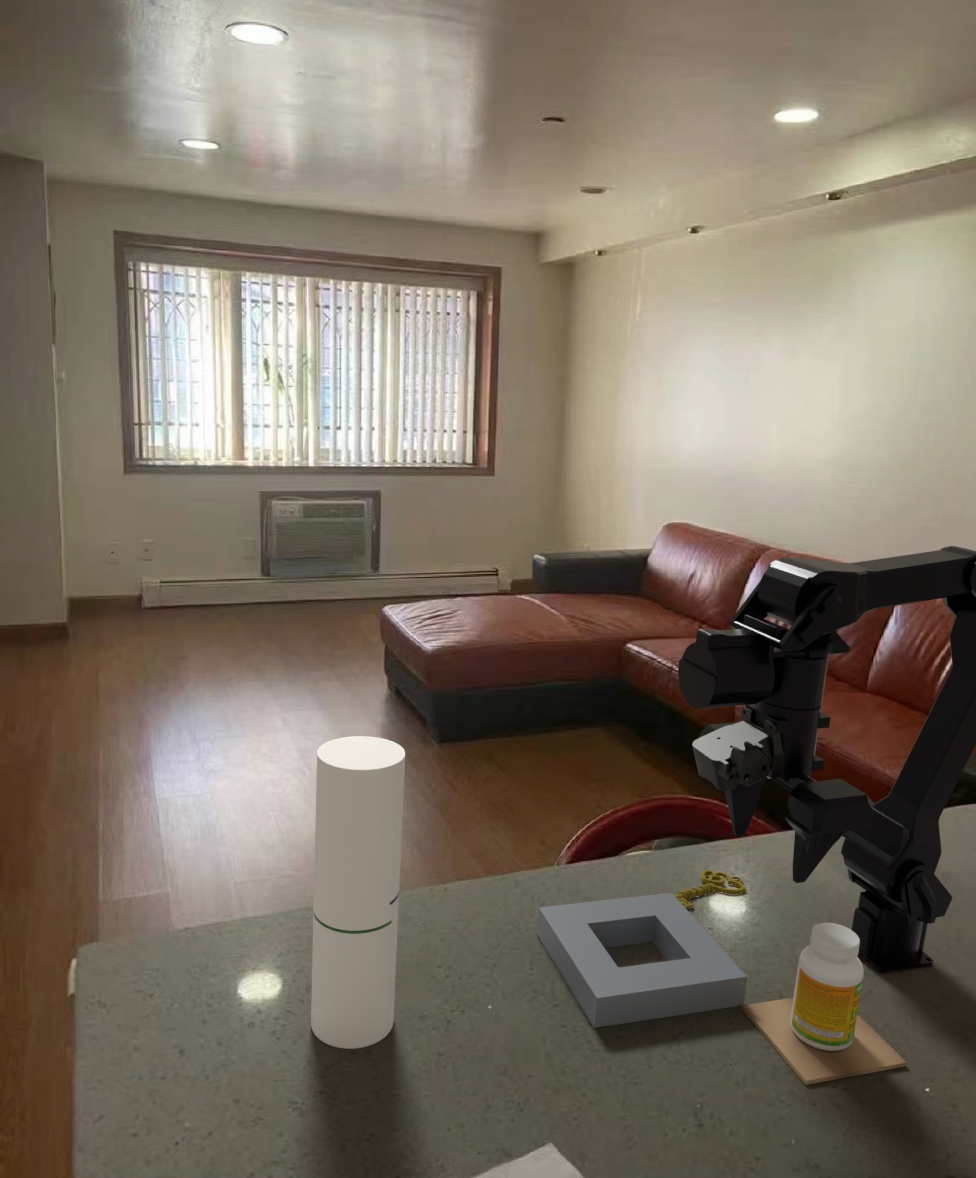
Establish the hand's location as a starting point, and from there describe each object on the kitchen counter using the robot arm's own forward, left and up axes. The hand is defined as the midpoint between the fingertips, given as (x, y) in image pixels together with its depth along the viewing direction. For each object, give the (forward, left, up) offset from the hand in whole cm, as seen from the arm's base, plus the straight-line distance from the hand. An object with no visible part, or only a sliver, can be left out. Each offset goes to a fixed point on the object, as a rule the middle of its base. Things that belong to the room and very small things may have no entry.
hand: (767, 857), depth 92 cm
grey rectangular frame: (+10, -4, -13) cm, 17 cm away
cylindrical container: (+38, -2, -13) cm, 41 cm away
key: (-4, -16, -14) cm, 22 cm away
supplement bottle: (-2, +9, -13) cm, 16 cm away
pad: (-2, +9, -13) cm, 16 cm away
